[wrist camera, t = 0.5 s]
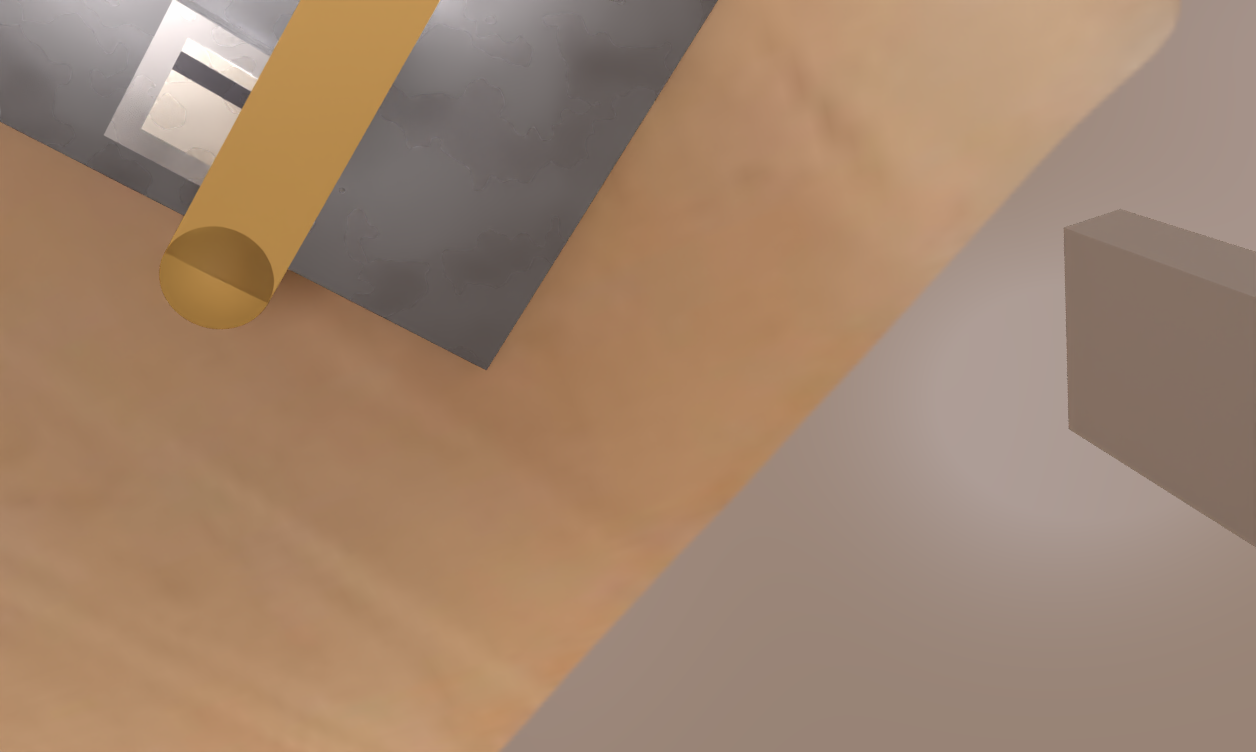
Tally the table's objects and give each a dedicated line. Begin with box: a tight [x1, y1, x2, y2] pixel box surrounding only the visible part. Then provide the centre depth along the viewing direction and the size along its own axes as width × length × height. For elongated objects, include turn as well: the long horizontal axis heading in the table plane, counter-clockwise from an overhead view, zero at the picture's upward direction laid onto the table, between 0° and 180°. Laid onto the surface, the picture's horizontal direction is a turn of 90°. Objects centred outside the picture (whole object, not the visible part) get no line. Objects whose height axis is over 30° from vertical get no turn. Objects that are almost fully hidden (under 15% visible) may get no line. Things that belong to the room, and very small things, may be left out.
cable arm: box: [159, 0, 440, 329], centre depth 29 cm, size 18×4×6 cm, turn 146°
